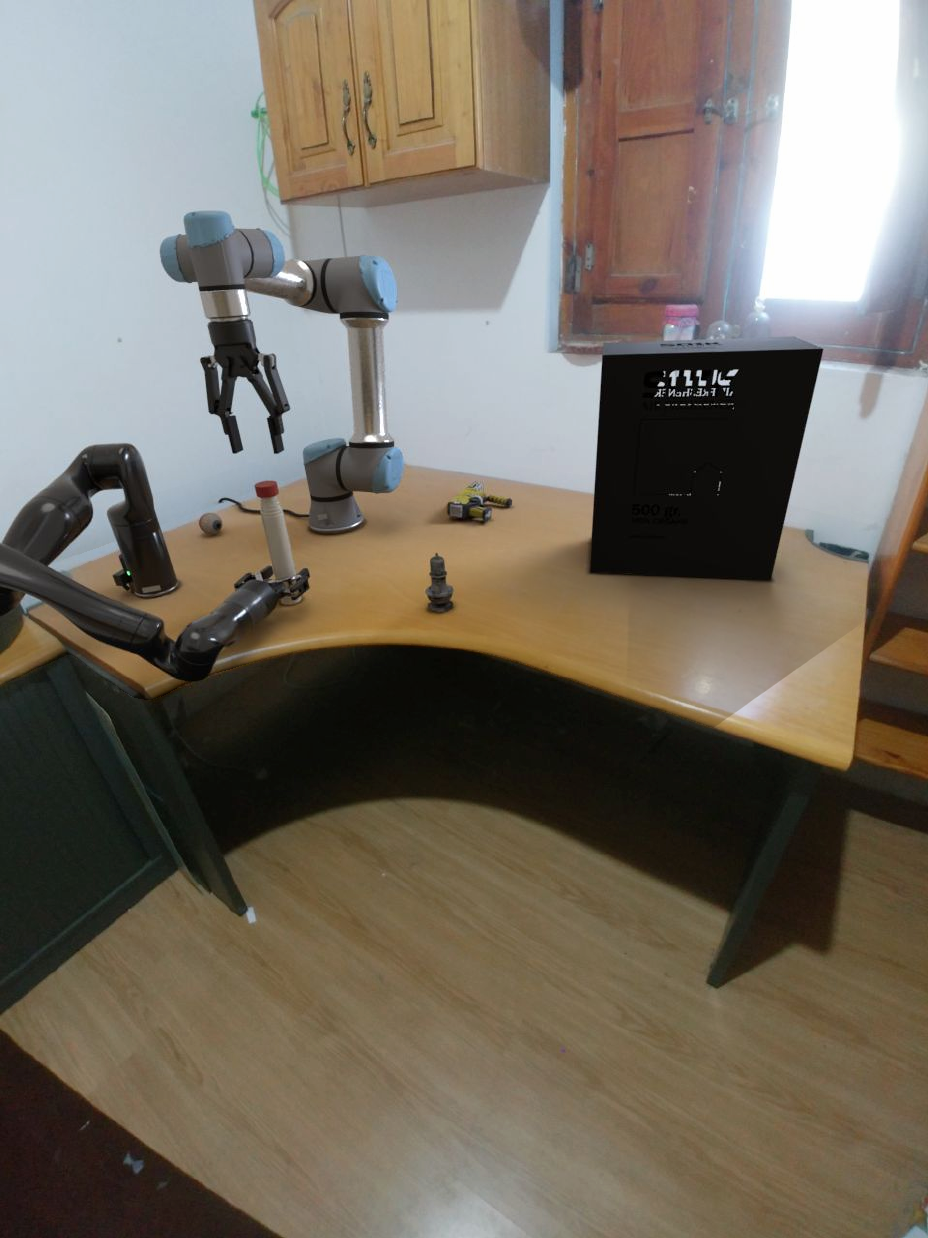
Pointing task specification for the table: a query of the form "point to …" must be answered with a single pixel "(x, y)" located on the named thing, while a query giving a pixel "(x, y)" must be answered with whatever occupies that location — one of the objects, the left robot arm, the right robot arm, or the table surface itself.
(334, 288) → the right robot arm
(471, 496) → the toy gun
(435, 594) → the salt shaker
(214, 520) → the eyeball
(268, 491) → the cap
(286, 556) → the bottle
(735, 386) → the cardboard box
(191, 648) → the left robot arm
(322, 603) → the table surface
